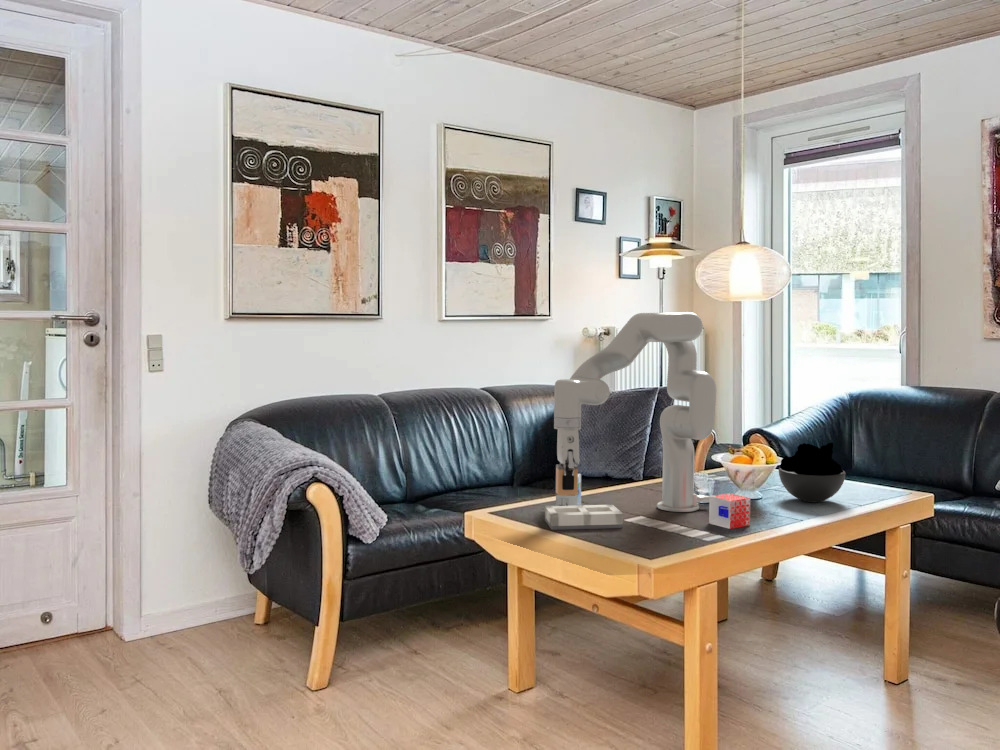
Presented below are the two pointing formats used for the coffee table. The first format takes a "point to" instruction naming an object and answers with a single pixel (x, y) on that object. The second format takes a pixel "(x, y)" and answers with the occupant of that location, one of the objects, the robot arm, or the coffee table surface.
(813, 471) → the bowl of black rocks
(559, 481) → the tan box
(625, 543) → the coffee table surface
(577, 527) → the socket plate
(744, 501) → the red and white box
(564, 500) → the light bulb box
